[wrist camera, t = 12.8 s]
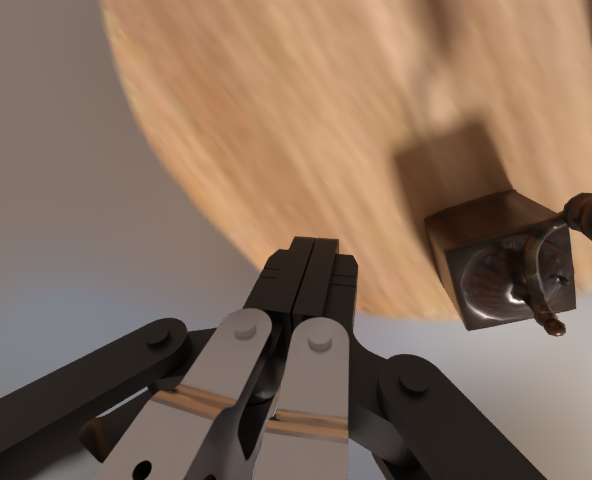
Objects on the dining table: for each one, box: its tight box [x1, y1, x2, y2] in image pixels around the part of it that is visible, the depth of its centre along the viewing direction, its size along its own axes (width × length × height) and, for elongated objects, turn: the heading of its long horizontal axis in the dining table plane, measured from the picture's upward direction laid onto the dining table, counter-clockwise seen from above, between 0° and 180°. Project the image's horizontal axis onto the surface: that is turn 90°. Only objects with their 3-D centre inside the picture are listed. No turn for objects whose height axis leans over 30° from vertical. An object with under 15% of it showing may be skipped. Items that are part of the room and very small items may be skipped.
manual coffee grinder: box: [424, 190, 592, 336], centre depth 29 cm, size 16×11×18 cm
